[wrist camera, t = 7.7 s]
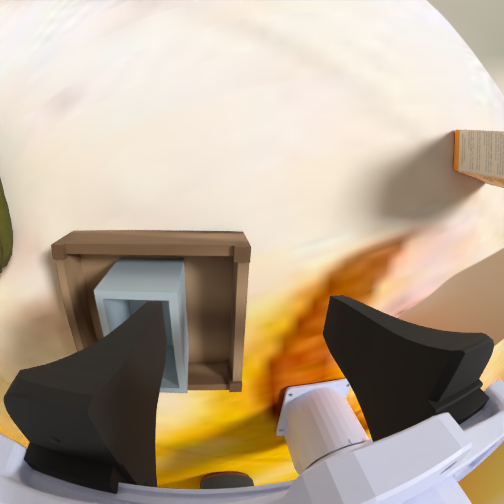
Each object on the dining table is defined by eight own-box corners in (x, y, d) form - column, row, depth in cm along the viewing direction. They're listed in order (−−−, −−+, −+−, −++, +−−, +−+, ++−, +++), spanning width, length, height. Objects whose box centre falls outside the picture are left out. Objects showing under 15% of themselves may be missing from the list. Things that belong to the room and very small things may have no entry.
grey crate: (189, 346, 22) (187, 393, 17) (133, 345, 21) (119, 389, 16) (184, 258, 20) (177, 292, 14) (119, 258, 19) (93, 290, 14)
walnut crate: (236, 363, 24) (241, 391, 20) (99, 357, 22) (88, 384, 18) (243, 231, 20) (251, 246, 17) (74, 230, 18) (51, 244, 14)
